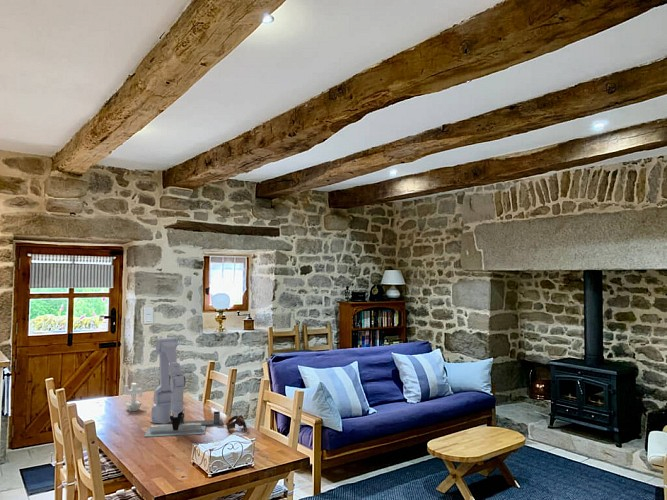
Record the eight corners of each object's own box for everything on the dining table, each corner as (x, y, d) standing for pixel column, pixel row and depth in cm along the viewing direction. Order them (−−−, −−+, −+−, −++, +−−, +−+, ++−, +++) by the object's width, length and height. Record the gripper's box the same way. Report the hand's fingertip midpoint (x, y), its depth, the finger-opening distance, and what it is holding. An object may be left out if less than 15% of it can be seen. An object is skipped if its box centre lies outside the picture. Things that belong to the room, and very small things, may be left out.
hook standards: (174, 427, 252) (174, 416, 252) (175, 423, 259) (175, 412, 259) (222, 425, 258) (222, 414, 258) (222, 421, 264) (222, 411, 265)
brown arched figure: (246, 434, 246) (238, 421, 244) (229, 441, 247) (221, 428, 246) (251, 421, 258) (244, 408, 256) (235, 428, 259) (228, 415, 258)
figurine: (143, 409, 282) (144, 383, 283) (126, 412, 276) (127, 385, 277) (139, 407, 288) (140, 381, 289) (122, 409, 282) (123, 383, 283)
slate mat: (144, 437, 237) (144, 436, 237) (147, 429, 249) (147, 428, 249) (204, 434, 243) (204, 433, 243) (205, 426, 255) (205, 425, 255)
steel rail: (150, 433, 242) (150, 426, 242) (151, 431, 245) (151, 425, 245) (201, 430, 247) (201, 424, 248) (201, 428, 250) (201, 422, 250)
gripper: (184, 403, 241) (183, 432, 240) (186, 396, 255) (185, 423, 254) (169, 404, 239) (168, 432, 238) (172, 396, 253) (171, 423, 253)
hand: (176, 427), depth 246 cm, fingers open, 7 cm apart
